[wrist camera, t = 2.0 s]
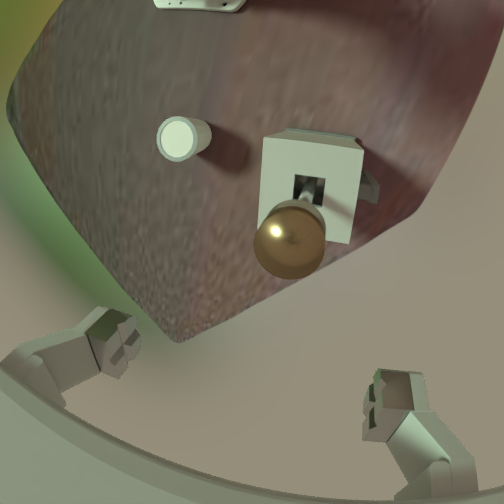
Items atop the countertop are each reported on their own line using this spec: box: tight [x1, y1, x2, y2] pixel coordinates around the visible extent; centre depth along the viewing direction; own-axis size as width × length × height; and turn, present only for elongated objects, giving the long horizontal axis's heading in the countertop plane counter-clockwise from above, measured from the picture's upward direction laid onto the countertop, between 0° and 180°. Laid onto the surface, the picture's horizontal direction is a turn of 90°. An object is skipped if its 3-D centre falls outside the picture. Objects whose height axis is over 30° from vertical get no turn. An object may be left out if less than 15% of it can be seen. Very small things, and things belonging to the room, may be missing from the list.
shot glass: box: [157, 116, 212, 161], centre depth 44 cm, size 7×7×7 cm
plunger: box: [254, 174, 326, 279], centre depth 26 cm, size 7×7×20 cm
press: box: [257, 128, 380, 244], centre depth 37 cm, size 13×10×18 cm
